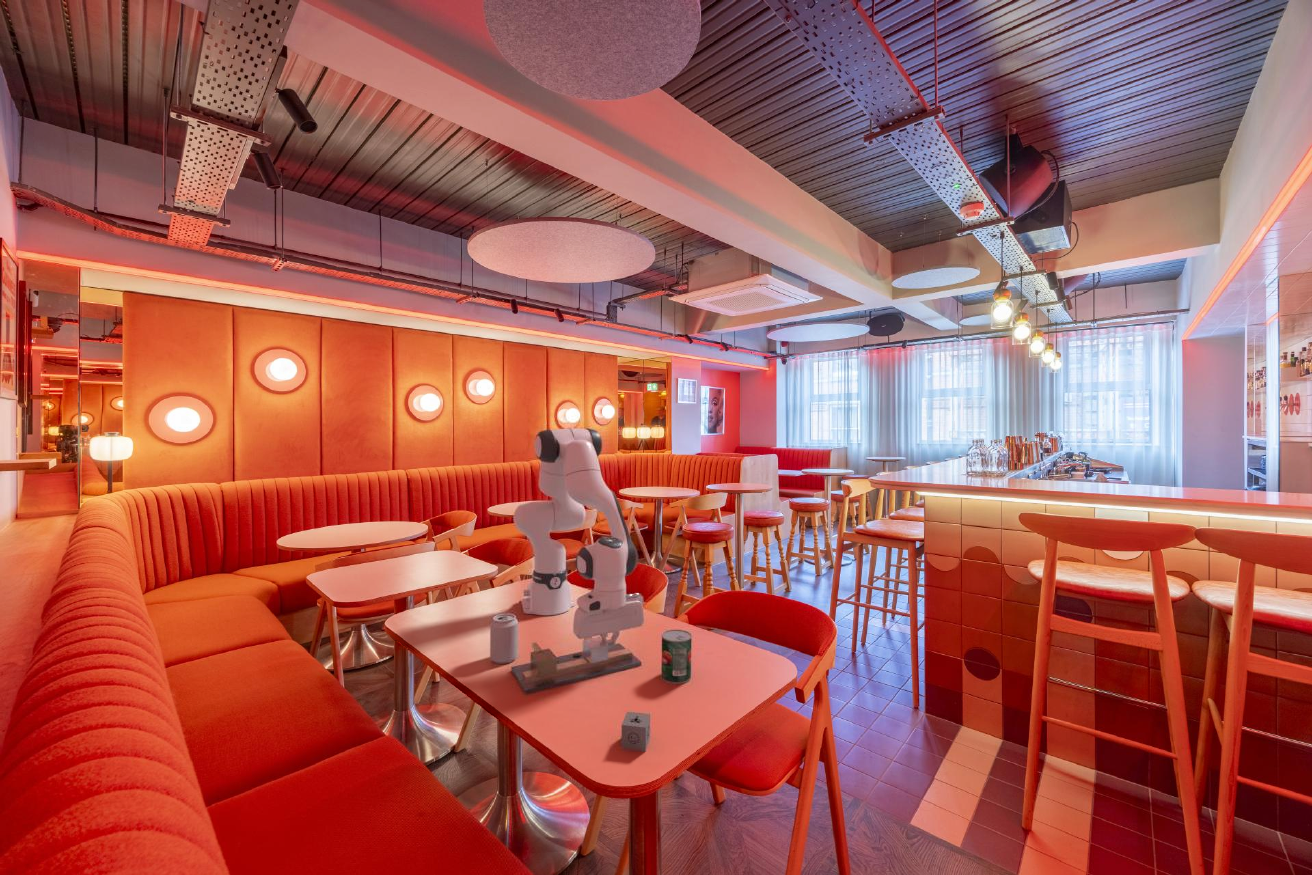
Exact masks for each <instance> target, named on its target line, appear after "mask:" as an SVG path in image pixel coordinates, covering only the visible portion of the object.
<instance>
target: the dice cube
mask: <svg viewBox="0 0 1312 875" xmlns="http://www.w3.org/2000/svg"><path fill="white" fill-rule="evenodd" d="M650 739H651V713H646V712H635V711H627V712H626V714H625V716H624V717H623V721H622V722H621V740H620V741H621V744H620V745H621V747H620V748H621V749H622V750H629V751H635V752H636V751H637V752H644V753H645V752H647V749H648V746H649V743H650Z"/></svg>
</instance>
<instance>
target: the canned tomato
mask: <svg viewBox="0 0 1312 875" xmlns="http://www.w3.org/2000/svg"><path fill="white" fill-rule="evenodd" d="M692 636H693V635H692V633H691V632H689V631H687V630H683V629H668V630H666V631H663V632H662V633H661V668H660V670H661V674H660V675H661V676H660V677H661V680H663V681H664V682H666V683H668V684H673V685H678V684H679V685H680V684H686V683H687V682H689V681H690V680H691V679H692V643H693V642H692Z"/></svg>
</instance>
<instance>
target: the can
mask: <svg viewBox="0 0 1312 875" xmlns="http://www.w3.org/2000/svg"><path fill="white" fill-rule="evenodd" d="M489 628H490V629H489V630H490V632H489V633H490V635H489V636H490V637H489V638H490V639H489V640H490V642H489V643H490V644H489V647H490V648H489V655H490V656H489V658H490V660H491V661H492V662H493V663H495V664H498V665H500V664H501V665H504V664H509V663H511V662H513V661H515V659H517V658H518V655H519V621H518V619H517V616H516V615H515V614H513V613H500V614H497V615H495V616H493V617H492V621H491V622H490V626H489Z"/></svg>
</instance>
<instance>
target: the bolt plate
mask: <svg viewBox="0 0 1312 875" xmlns="http://www.w3.org/2000/svg"><path fill="white" fill-rule="evenodd" d="M531 648H532V649H533V651H530V662H527V663H524V664H519V665H515V666H511V667H510V669H511V673H512V675H513V676H514V677H515V679H516V681H517V683H518V684H519V686H520V688H521V690H522V691H523V693H524V694H525V695H529V694H532V693H536V692H540V691H544V690H549V689H553V688H557V687H560V686H565V685H568V684H573V683H577V682H580V681H584V680H589V679H592V678H597V677H601V676H604V675H605V676H606V675H609V674H613V673H616V672H621V671H625V670H629V669H634V668H636V667H637V668H638V667H641V666H642V664H643V663H642V661H641V659H639V658H638V657H637V656H635V655H634V654H633V651H632V650H631V649H629V648H625V647H624V646H623V645H622V644H621V643H616V645H615V647H613V648H609V649H608V660H604V661H600V662H596V663H590V662H589V661H588V660H587V659H586V658H585V657H584V656H583V650H582V651H578V652H573V653H569V654H565V655H559V656H557V655H556V654H554V652H553V651H552V650H551V649H550V648H545V649H542V648H541V647H540V645H539V644H538V643H537V642H531Z"/></svg>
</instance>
